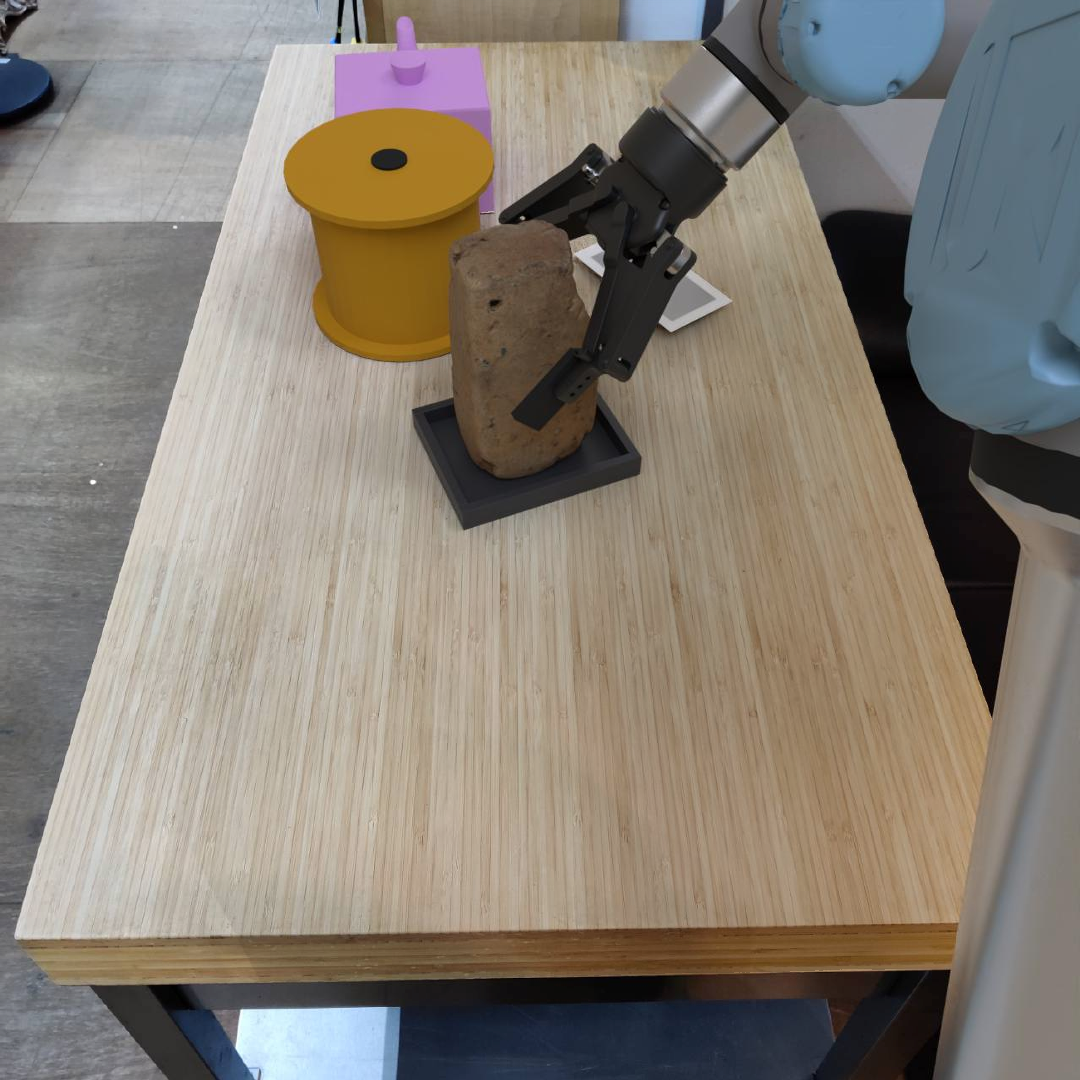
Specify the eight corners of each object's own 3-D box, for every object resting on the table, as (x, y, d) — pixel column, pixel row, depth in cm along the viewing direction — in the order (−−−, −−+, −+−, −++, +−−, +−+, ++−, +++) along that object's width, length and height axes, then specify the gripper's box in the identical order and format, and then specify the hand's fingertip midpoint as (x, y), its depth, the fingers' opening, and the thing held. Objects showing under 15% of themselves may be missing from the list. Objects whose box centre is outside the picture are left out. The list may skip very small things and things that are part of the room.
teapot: (477, 117, 118) (472, -6, 107) (498, 240, 102) (494, 109, 91) (350, 125, 116) (331, 1, 105) (352, 250, 101) (329, 119, 90)
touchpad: (632, 236, 103) (633, 218, 101) (731, 310, 95) (734, 291, 93) (572, 262, 100) (573, 244, 98) (669, 341, 92) (672, 323, 91)
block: (477, 493, 80) (463, 289, 64) (451, 430, 84) (432, 226, 68) (602, 461, 82) (617, 257, 66) (570, 402, 86) (578, 197, 71)
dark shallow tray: (640, 474, 82) (642, 456, 80) (463, 530, 78) (462, 513, 76) (577, 379, 89) (578, 361, 87) (413, 426, 85) (411, 408, 83)
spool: (481, 236, 103) (474, 96, 91) (515, 347, 92) (512, 204, 80) (307, 258, 100) (277, 116, 88) (320, 374, 89) (288, 230, 77)
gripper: (817, 263, 62) (589, 491, 71) (645, 88, 76) (471, 295, 85) (760, 207, 57) (520, 461, 65) (586, 30, 71) (406, 257, 79)
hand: (492, 368), depth 75 cm, fingers open, 12 cm apart
